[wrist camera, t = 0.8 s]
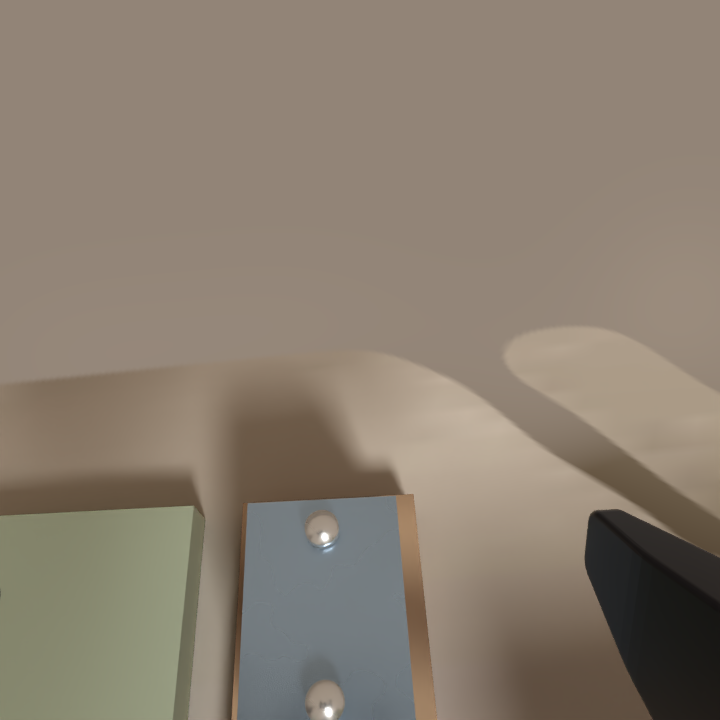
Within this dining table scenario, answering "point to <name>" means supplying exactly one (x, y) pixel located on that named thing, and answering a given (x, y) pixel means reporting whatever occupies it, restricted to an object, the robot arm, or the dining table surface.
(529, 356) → the dining table surface
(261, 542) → the housing
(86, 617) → the green stand
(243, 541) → the walnut stand
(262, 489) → the dining table surface
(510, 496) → the dining table surface
